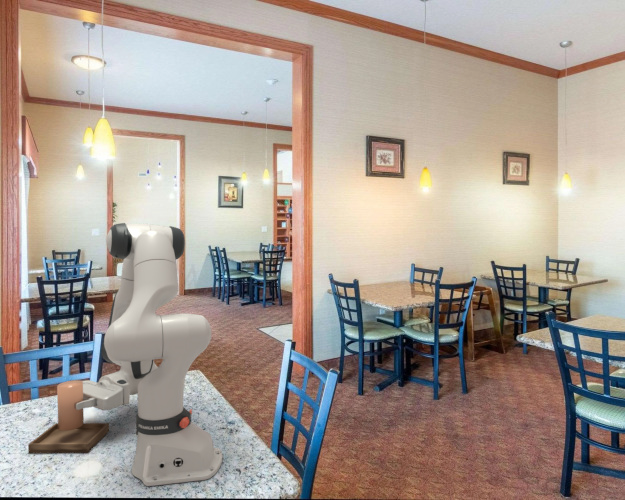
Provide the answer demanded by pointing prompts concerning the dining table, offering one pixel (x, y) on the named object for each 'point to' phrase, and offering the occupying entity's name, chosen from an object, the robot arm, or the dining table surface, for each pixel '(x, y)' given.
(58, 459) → the dining table surface
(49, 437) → the tray
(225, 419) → the dining table surface
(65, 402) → the peach cylinder
